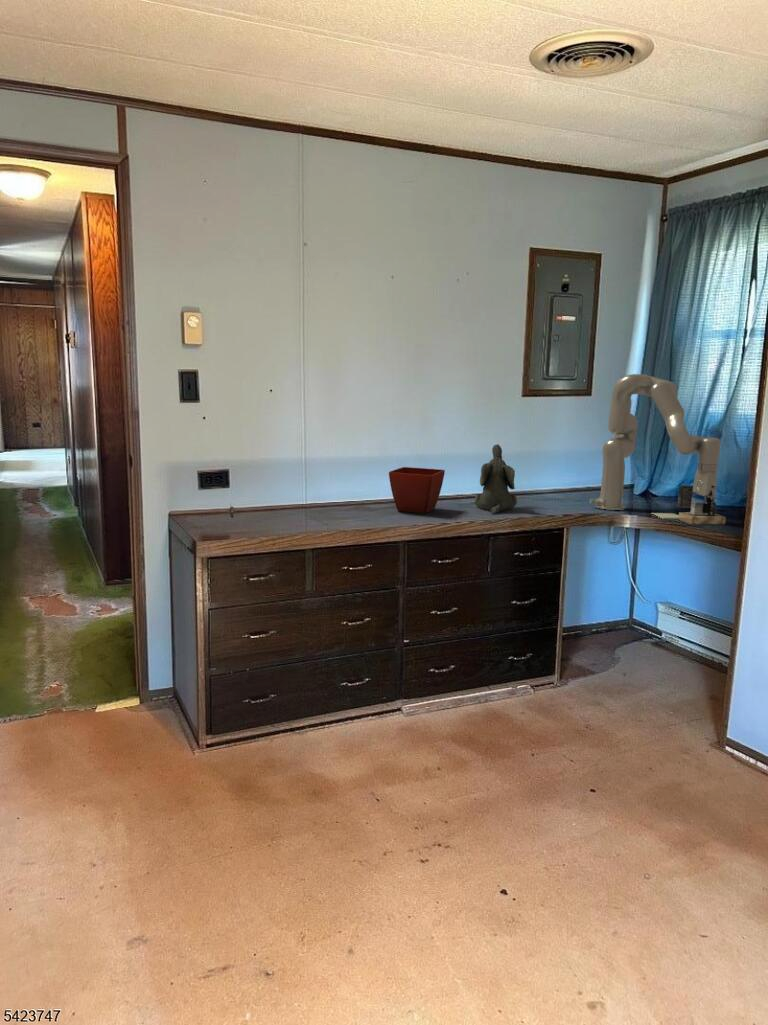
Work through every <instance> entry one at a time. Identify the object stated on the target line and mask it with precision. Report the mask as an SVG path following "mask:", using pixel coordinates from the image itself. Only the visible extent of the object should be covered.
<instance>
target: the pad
mask: <svg viewBox="0 0 768 1025" xmlns="http://www.w3.org/2000/svg"><path fill="white" fill-rule="evenodd" d="M651 514H654V515H656V516H658V517H657V518H659V517H660V518H659V519H661V518H662V520H678V518H679V514H676V513H674V512H651V513H650V515H651ZM654 515H653V516H654ZM656 516H655V517H656Z"/></svg>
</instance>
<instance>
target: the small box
mask: <svg viewBox="0 0 768 1025" xmlns="http://www.w3.org/2000/svg"><path fill="white" fill-rule="evenodd" d="M692 494H693V485H687V484H685V485H684V484H683V485H682V484H679V485H678V494H677V495H678V496H677V503H676V504H677V505H676V508H678V509H679V510H688V509H691V501H692Z"/></svg>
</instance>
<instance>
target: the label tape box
mask: <svg viewBox="0 0 768 1025" xmlns="http://www.w3.org/2000/svg"><path fill="white" fill-rule="evenodd" d="M707 496H709V495H707ZM708 498H709V497H707V499H708ZM703 503H704V496H699V495H698V494H696V492H693V494H692V501H691V510H690V515H692V516H715V514H716V505H717V502H716V501H715V499H714V500H713V501H712V504H711V509H710V513H702V511H703Z"/></svg>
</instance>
